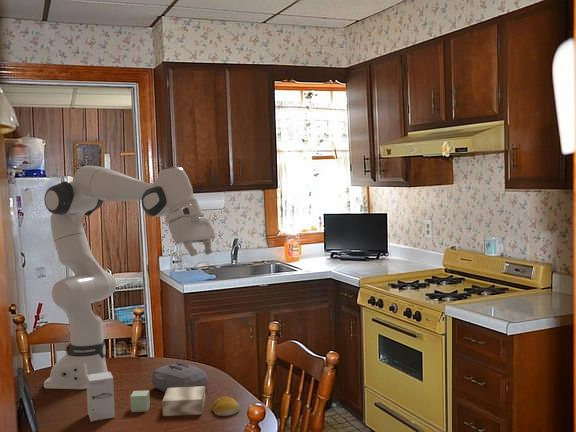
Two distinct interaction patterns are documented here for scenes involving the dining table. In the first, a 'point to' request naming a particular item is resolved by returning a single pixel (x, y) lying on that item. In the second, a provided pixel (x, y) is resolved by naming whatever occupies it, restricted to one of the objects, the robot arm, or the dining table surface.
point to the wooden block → (184, 401)
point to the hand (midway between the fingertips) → (202, 254)
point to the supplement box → (100, 396)
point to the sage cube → (140, 401)
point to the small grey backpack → (178, 377)
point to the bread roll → (225, 406)
